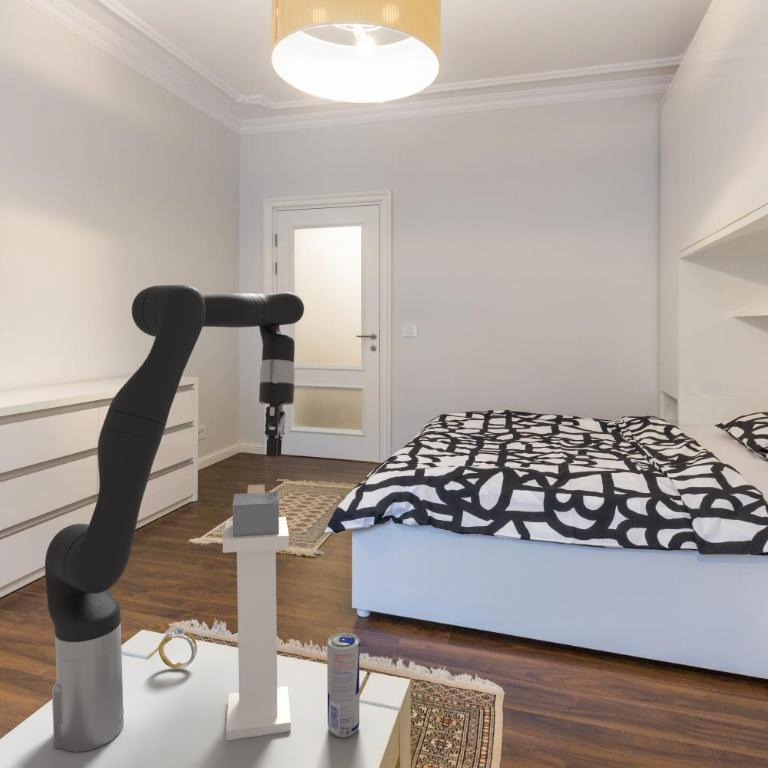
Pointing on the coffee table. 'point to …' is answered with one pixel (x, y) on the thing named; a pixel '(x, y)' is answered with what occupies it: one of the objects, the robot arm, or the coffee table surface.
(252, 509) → the hammer
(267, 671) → the stand
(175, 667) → the ring
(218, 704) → the coffee table surface
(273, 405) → the robot arm
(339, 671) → the beverage can
